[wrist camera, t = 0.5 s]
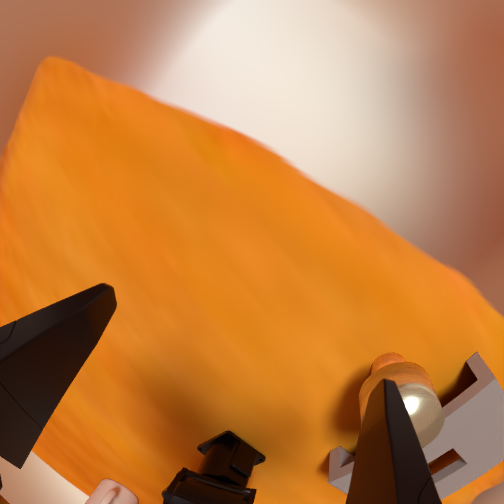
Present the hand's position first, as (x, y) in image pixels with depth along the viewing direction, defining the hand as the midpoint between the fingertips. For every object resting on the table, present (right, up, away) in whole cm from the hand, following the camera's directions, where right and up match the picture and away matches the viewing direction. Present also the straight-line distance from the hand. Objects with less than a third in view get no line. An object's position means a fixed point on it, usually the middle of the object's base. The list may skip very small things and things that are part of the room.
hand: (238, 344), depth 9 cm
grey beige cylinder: (+14, -8, +18) cm, 24 cm away
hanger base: (+22, -20, +19) cm, 35 cm away
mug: (-25, -44, +35) cm, 61 cm away
